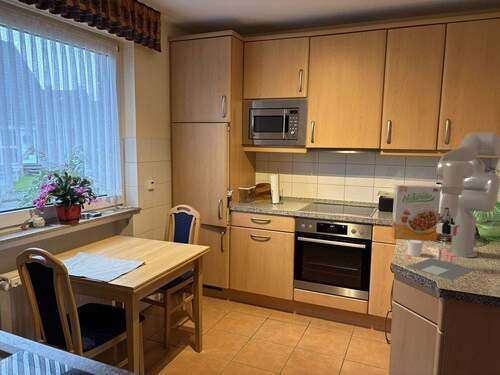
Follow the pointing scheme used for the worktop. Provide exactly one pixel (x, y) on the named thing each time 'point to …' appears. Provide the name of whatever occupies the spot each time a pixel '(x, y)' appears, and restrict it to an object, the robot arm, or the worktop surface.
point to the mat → (441, 268)
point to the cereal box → (415, 212)
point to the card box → (454, 229)
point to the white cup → (414, 247)
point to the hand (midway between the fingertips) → (448, 232)
